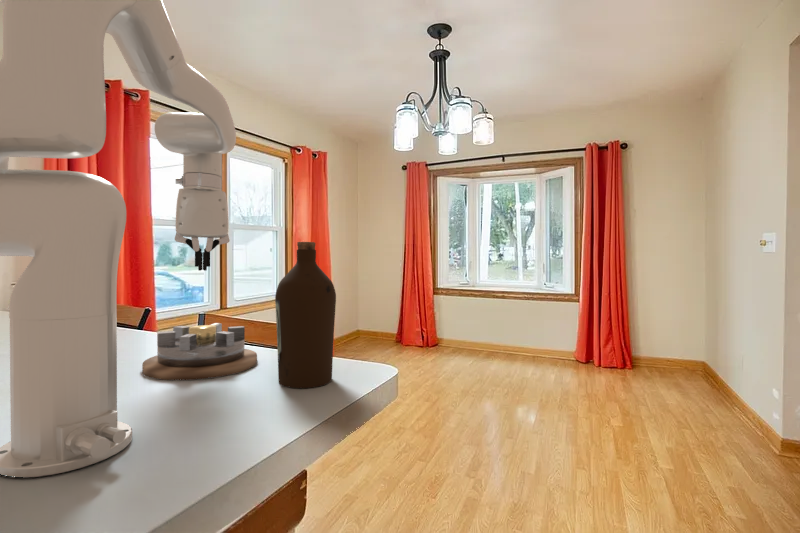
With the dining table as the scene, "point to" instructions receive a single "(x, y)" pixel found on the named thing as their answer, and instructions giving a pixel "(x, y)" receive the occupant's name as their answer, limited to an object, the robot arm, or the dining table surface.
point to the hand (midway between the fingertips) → (202, 270)
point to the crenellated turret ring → (200, 345)
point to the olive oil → (305, 323)
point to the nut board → (198, 368)
